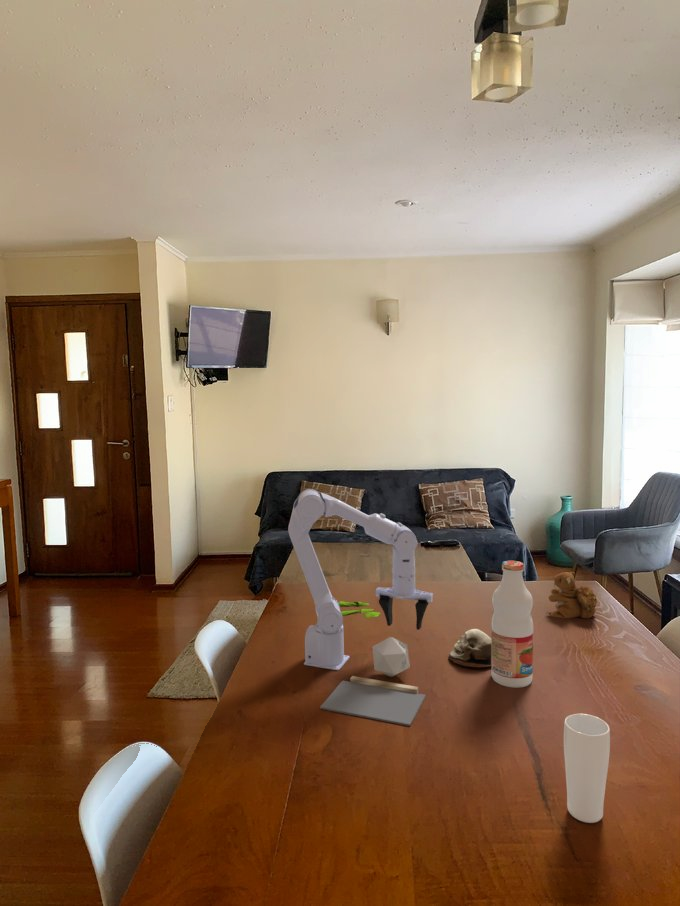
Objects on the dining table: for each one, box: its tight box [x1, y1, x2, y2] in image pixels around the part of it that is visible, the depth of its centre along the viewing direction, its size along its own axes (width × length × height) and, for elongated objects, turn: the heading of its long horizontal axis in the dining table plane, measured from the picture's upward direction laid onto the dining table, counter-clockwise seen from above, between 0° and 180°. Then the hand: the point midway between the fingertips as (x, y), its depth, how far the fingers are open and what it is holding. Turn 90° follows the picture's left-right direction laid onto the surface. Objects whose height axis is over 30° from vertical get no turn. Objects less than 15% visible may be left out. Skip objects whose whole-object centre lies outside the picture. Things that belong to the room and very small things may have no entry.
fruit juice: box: [490, 560, 534, 689], centre depth 141 cm, size 9×9×28 cm
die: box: [372, 636, 411, 678], centre depth 144 cm, size 8×9×10 cm
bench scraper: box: [319, 680, 426, 727], centre depth 133 cm, size 20×13×1 cm, turn 68°
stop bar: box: [349, 675, 419, 694], centre depth 140 cm, size 16×1×1 cm, turn 68°
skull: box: [448, 628, 491, 668], centre depth 153 cm, size 12×10×10 cm
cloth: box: [338, 600, 381, 619], centre depth 191 cm, size 20×22×2 cm
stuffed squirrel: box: [548, 571, 598, 619], centre depth 181 cm, size 10×14×13 cm
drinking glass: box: [563, 713, 611, 824], centre depth 96 cm, size 7×7×15 cm
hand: (404, 626), depth 155 cm, fingers open, 7 cm apart
